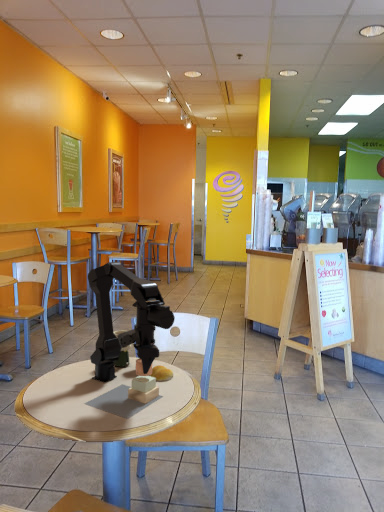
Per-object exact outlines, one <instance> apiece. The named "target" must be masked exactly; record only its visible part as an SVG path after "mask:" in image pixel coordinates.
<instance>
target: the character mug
mask: <svg viewBox="0 0 384 512" xmlns="http://www.w3.org/2000/svg"><path fill="white" fill-rule="evenodd" d="M126 331H127V330H125V329H124V330H123V329H122V330H115V331H113V332H114V334H115V335H116V337H117V336H118V335H119V334H121V333H124V332H126ZM117 338H118V337H117ZM131 347H132V344H130V345H128V346H126V347H124V348H122V349H121V353H120V356H119V360H118V361H114V366H117V367H127V365H130V354H129V350H130V349H131Z"/></svg>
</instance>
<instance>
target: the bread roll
mask: <svg viewBox="0 0 384 512" xmlns="http://www.w3.org/2000/svg"><path fill="white" fill-rule="evenodd" d="M149 376H151V377H154V378H156V382H160V381H161V382H162V381H163V382H165V381H167V382H168V381H171V380H172V379H173V378H174V372H173V370H172V369H170V368H167V367H166V366H164V365H155V366H154V367H153V366H152V374H151V375H149Z"/></svg>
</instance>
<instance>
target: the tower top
mask: <svg viewBox="0 0 384 512" xmlns="http://www.w3.org/2000/svg"><path fill="white" fill-rule="evenodd" d="M156 386H157V380H156V378H154V377H151V376H139V375H137V376H136V377H134V378H132V379H131V387H132V389H134V390H137V391H141V392H144V393H146V392H148V391H150V390H151V389H153V388H155V387H156Z"/></svg>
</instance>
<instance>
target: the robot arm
mask: <svg viewBox="0 0 384 512" xmlns="http://www.w3.org/2000/svg"><path fill="white" fill-rule="evenodd" d="M114 279H115V280H117V281H118V282H119V283H121V284H122V285H123V286H125V287H126V288H127V289H128V290H129V291H130V296H132V298H133V299H134V300H135V302H133V303H132V307H134V308H136V313H135V314H136V320H135V322H136V323H135V325H134V326H133V329H130V330H125V331H126V332H124V333H121V334H119V335H118V336H117V337H118V338H117V337H116V335H115V334H114V332H115V331H114V325H113V316H112V305H111V304H112V303H111V296H110V292H111V290H112V287H113V285H114ZM87 281H88V283H89V284H88V285H89V288H90V289H91V291H92V292H93V293H94V294H95V295H94V296H95V306H96V315H97V316H96V317H97V324H98V325H97V326H98V334H99V335H98V337H97V338H96V341H95V350H94V351H93V353H92V354H91V355H90V357H89V358H90V363H91V364H93V365H94V376H93V377H91V379H92V380H94V381H97V382H101V383H107V382H110V381H112V380H114V379H117V377H118V376H117V375H116V366H115V365H114V361H118V360H119V356H120V353H121V349H122V348H124V347H126V346H128V345H130V344H131V345H133V348H134V349H135V350H136V352H137V353H136V356H137V359H140V358H141V361H142V367H143V373H144V374H147V373H148V371H149V369H150V367H151V365H152V366H153V362H154V361H155V359H156V358H159V357H160V349H159V347H158V346H157V345H156V339H155V331H156V327H157V328H160V329H163V330H168V329H171V327H172V326H173V325H174V323H175V315H174V313H173V311H172V310H170V309H171V307H170V305H165V304H166V303H165V300H164V298H163V296H162V294H161V291H160V289H159V286H158V285H157V283H156V282H154V281H151V280H149V279H145V278H141V277H139V276H137V275H136V274H134V273H133V272H132V271H130V270H129V269H128V268H127V267H125V266H123V265H122V263H121V262H119V261H110V262H106V263H105V264H103V265H101V266H98V267H96V268H91V269H90V271H89V272H88V273H87ZM151 343H154V345H152V344H151Z"/></svg>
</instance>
